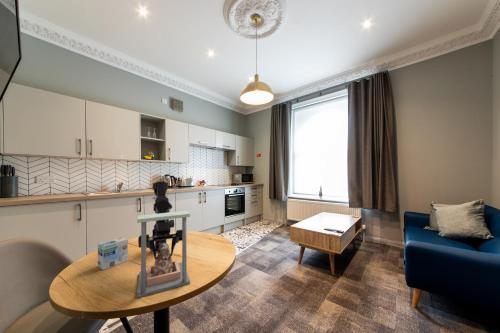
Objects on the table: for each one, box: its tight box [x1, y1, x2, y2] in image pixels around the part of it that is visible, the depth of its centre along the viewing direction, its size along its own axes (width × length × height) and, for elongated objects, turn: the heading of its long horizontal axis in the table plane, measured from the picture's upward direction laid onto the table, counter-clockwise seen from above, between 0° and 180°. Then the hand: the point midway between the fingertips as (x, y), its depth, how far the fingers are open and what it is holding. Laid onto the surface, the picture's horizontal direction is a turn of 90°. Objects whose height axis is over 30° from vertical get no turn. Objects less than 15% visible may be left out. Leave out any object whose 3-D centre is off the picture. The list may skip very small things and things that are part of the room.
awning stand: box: [136, 210, 191, 299], centre depth 78 cm, size 18×18×27 cm
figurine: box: [153, 242, 173, 276], centre depth 78 cm, size 7×7×12 cm
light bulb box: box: [97, 237, 129, 271], centre depth 91 cm, size 11×7×11 cm, turn 148°
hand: (163, 257), depth 77 cm, fingers closed on figurine, 6 cm apart
